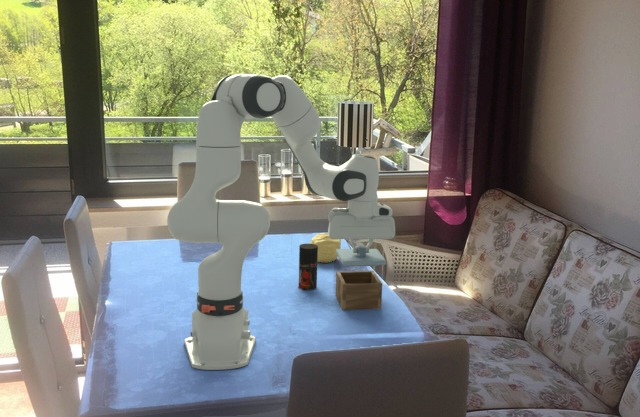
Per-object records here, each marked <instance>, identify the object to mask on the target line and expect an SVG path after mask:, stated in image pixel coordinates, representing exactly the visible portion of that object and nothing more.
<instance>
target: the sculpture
mask: <svg viewBox="0 0 640 417" xmlns="http://www.w3.org/2000/svg"><path fill="white" fill-rule="evenodd" d="M341 240H342V239H331V238H330V237H329V236H328V232H321V233H317V234H316V235H314V236H313V237H312V238H311V240H310V242H309V244H315V245H317V246H318V257H317V263H320V262H321V264H322V263H323V264H325V263H326V264H328V262H329V263H332V261H333V262H334V261H336V260H337V258H339V257H338V256H337V254H336V249H342V248H341V246H342V245H341V244H342V241H341Z"/></svg>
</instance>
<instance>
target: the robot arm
mask: <svg viewBox="0 0 640 417" xmlns="http://www.w3.org/2000/svg"><path fill="white" fill-rule="evenodd" d="M270 117H271V118H272V120H273V121H274V123H275V125H276V126H277V128H278V129H279V130H280V133H281V134H282V135H283V137H284V139H285V141H286V144H287V145H288V148H289V150H290V152H291V153H292V155H293V156H294V157H293V158H295V160H296V162H297V163H298V164H297V165H298V166H299V167H300V168H301V171H302V173H303V178H304V182H305V186H306V187H307V189H308V191H309V193H311V194H312V195H314V196H318V197H323V198H324V197H325V198H328V199H332V200H336V201H339V202H347V207H342V208H339V207H333V208H332V209H330V210H329V211H328V213H327V220H328V228H327V233H328V236H329V237H330V238H331V239H341V240H348V242H349V243H350V245H351V247H352V248H351V249H352V252H353V253H358V247H357V246H356V245H355V244H354V243H356V240H367V241H368V242H367V244H366V245H364V246H365V247H366V253H369V249H371V246H372V245H373V243H374V240H391V239H394V237H395V236H396V222H395V218H394V217H393V216H392V215H393V208H391V207H390V206H389V205H387V204H385V203H382V202H378V200H379V199H378V188H379V182H380V180H379V178H380V173H379V171H380V170H379V163H378V160H377V158H376V157H374V156H372V155H366V154H361V153H354V154H351V156H350V158H349V160H347V161H346V162H345V163H343V164H341V165H339V166H337V165H334V164H329V163H328V162H325V161H324V160H322V159H321V157H320V156H319V154H318V153H317V150H316V149H315V147H314V145H313V143H312V141H311V140H313V139H314V138H315V136H317V134H318V132H319V130H320V126H321V118H320V117H319V114H318V111H317V109H316V108H315V106H314V105H313V104H312V102H311V100H310V98H308V96H307V95H306V93H305V92H304V91H303V89H302V88H301V87H300V86H299V84H298V83H297V82H296V81H295V80H293V78H291V77H290V76H288V75H285V74H284V75H283V74H280V75H276V76H274V77H271V76H268V75H265V74H252V73H249V72H248V73H238V74H236V73H235V74H229V75H225V76H224V77H223V78H221V79H220V80H219V81H218V83H217V84H216V85H215V88H214V91H213V95H212V97H211V99H210V101H207V102H206V103H204V104H203V105H202V106H201V107H200V109H199V114H198V119H197V126H196V136H195V137H196V138H195V139H196V140H195V142H196V143H195V145H196V146H195V147H196V148H195V150H196V151H195V153H196V154H195V155H196V156H195V157H196V158H195V172H194V173H195V174H194V176H193V177H194V178H193V181H192V183H191V186H190V188H189V189H188V191H187V192H186V194H184V196H183V197H182V198H181V199H179V200H178V201H177V202H175V203H174V204H173V206H172V207H171V208H170V210H169V212H168V214H167V218H166V220H167V221H166V222H167V227H168V228H167V229H168V231H169V233H170V235H171V236H172V238H174V239H175V240H177V241H181V242H182V241H183V242H187V243H192V244H193V243H194V244H205V243H206V244H211V243H212V244H217V243H218V244H221V245H222V247H221V248H220V249H219V250H218V251H216V252H214V253H212V254H209V255H207V256H206V257H204V258H203V259H202V260H201V262H200V263H199V264H198V268H197V276H198V278H197V279H198V282H197V284H198V287H197V288H198V291H197V293H196V309H195V310H194V311H193V312H192V313H191V332H190V336H189V337H186V338H184V346H185V350H186V354H187V356H188V360H189V363H190V366H191V368H193V369H197V370H206V371H209V370H210V371H211V370H212V371H216V370H217V371H219V370H220V371H221V370H231V369H237V368H238V369H239V368H242V367H245V366H247V365H249V362H250V359H251V357H252V354H253V351H254V348H255V346H256V342H257V340H256V339H257V338H256V336H255V335H252V334H251V330H249V326H250V323H251V322H250V320H249V311H248V310H247V309H246V308H244V295H243V294H244V293H243V290H242V276H243V274H242V273H243V265H244V262H245V259H246V257H247V256H248V253H249V252H250V251H251V250H252V248H254V246H255V245H257V244H258V243H259V242H261V241H262V240H264V238H265V237H266V235H267V234H268V232H269V229H270V225H271V218H270V214H269V211H268V210H267V208H266V206H265V205H264V204H262V203H260V202H255V201H250V200H247V199H246V200H245V199H241V200H240V199H236V200H235V199H233V200H232V199H218V198H216V197H217V196H216V195H217V193H218V192H219V191H221V190H222V189H225V188H226V187H229V186H230V185H232V184H234V183H235V182H236V181H238V179H239V178H240V176H241V174H242V136H241V131H242V126H243V123H244V121H245V120H246V119H266V118H270Z"/></svg>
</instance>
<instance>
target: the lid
mask: <svg viewBox="0 0 640 417" xmlns="http://www.w3.org/2000/svg"><path fill="white" fill-rule="evenodd" d="M355 246H357V247H358V253H353V252H352V248H340V249H336V254H337V256H338V257H337V258H338V259H339V261H340V263H341V265H342V266H347V267H379V266H387V260H386V259H385V257H384V255H382V254H381V252H380V250H378V248H369V253H366V247H365V246H366V245H365V244H364V243H363V242H355Z"/></svg>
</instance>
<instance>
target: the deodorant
mask: <svg viewBox="0 0 640 417" xmlns="http://www.w3.org/2000/svg"><path fill="white" fill-rule="evenodd" d="M298 249H299V250H298V251H299V252H298V253H299V254H298V256H299V257H298V289H300V290H303V291H313V290H316V289H317V287H318V286H317V285H318V284H317V283H318V262H317V257H318V246H317V245H315V244H310V243H302V244H299V248H298Z"/></svg>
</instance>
